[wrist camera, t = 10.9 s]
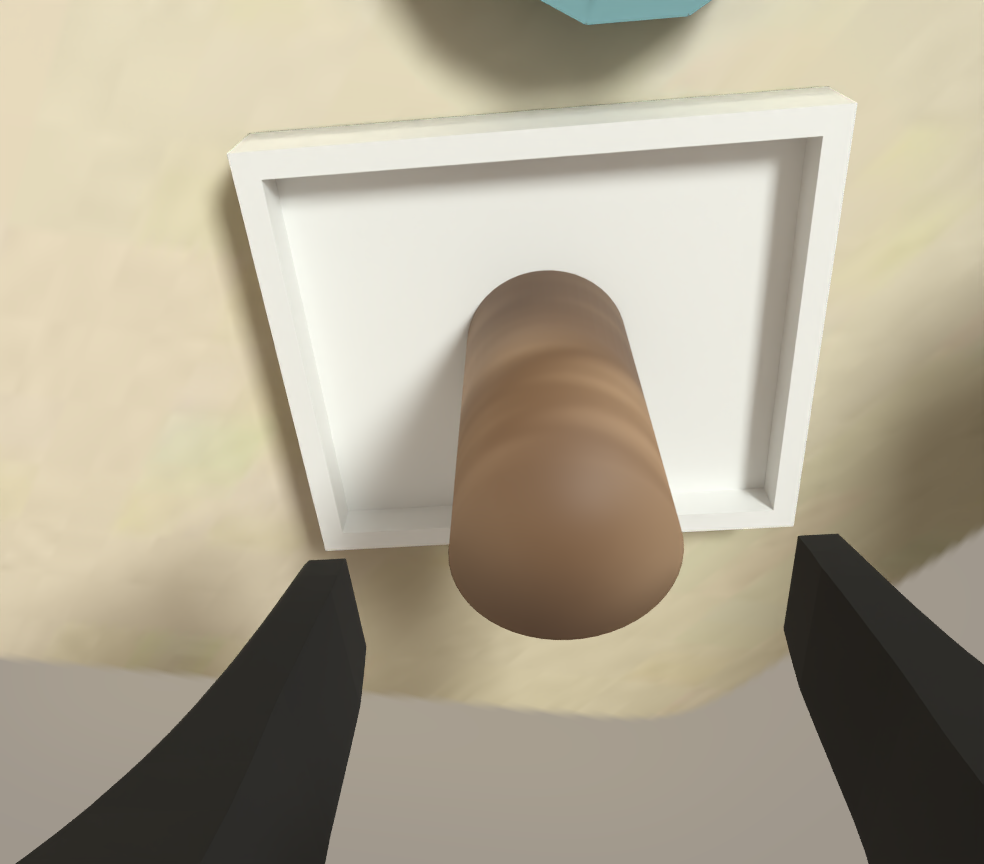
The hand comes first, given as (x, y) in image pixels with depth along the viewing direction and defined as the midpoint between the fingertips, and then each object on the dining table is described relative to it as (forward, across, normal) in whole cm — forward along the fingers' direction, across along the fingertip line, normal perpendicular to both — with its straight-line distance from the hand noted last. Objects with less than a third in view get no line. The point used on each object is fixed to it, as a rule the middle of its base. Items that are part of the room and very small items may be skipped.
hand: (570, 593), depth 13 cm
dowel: (+9, 0, 0) cm, 9 cm away
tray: (+10, 0, 0) cm, 10 cm away
